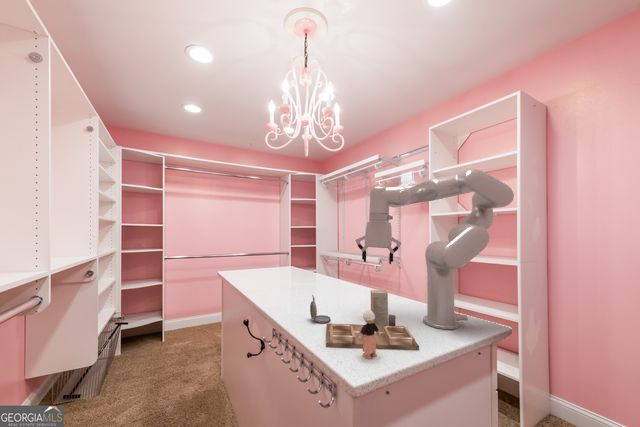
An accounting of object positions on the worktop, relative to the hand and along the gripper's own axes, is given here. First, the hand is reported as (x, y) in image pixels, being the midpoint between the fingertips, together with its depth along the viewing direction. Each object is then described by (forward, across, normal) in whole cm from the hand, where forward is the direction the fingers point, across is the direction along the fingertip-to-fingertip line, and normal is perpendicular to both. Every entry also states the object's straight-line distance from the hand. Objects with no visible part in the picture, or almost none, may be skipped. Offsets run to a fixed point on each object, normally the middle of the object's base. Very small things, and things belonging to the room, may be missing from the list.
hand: (377, 262), depth 102 cm
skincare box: (+23, -2, 0) cm, 23 cm away
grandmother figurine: (+23, 0, +27) cm, 36 cm away
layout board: (+23, +2, +14) cm, 27 cm away
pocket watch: (+24, +21, +4) cm, 32 cm away
